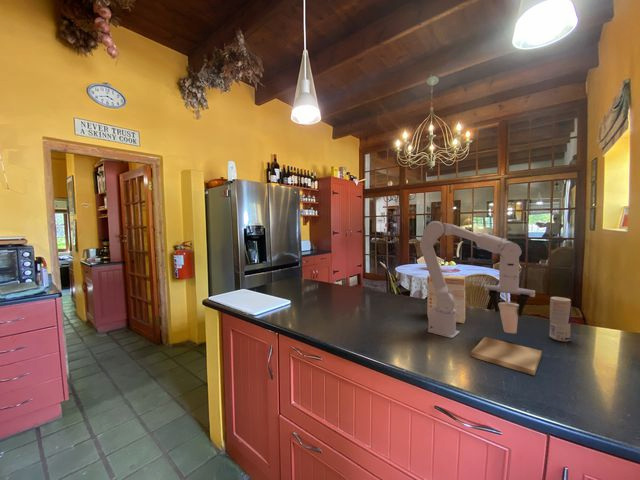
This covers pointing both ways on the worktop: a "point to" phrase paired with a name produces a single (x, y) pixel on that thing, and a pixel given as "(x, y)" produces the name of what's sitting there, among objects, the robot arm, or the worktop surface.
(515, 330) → the smoothie
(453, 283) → the coffeecake box
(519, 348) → the base board
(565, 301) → the beverage can
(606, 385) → the worktop surface
